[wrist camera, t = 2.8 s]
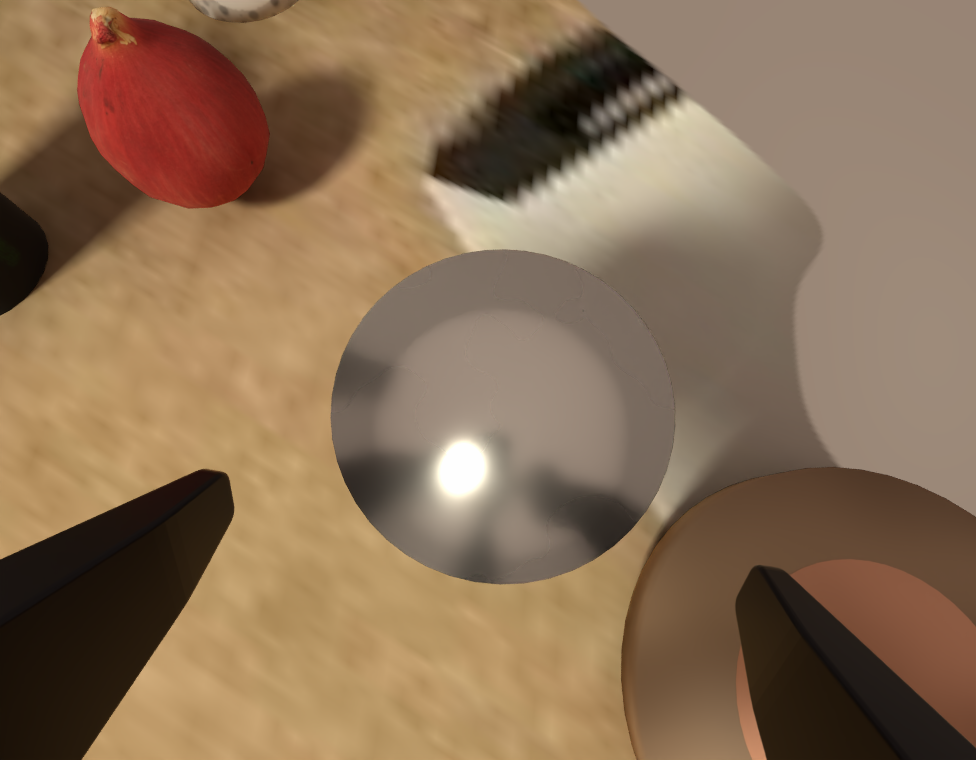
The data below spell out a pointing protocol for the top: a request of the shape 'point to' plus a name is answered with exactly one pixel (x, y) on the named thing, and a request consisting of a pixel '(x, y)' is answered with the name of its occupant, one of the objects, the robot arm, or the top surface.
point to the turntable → (820, 571)
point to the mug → (242, 9)
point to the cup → (19, 254)
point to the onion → (170, 111)
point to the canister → (502, 416)
